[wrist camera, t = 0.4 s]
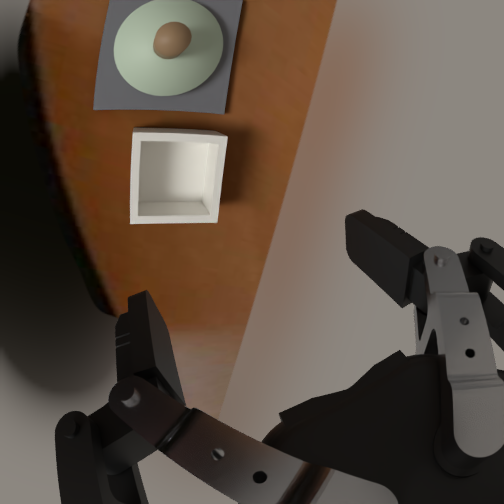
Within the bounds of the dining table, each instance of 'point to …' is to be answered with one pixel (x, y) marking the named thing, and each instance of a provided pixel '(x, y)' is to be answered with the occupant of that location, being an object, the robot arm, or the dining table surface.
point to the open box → (176, 175)
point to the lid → (168, 47)
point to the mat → (196, 100)
